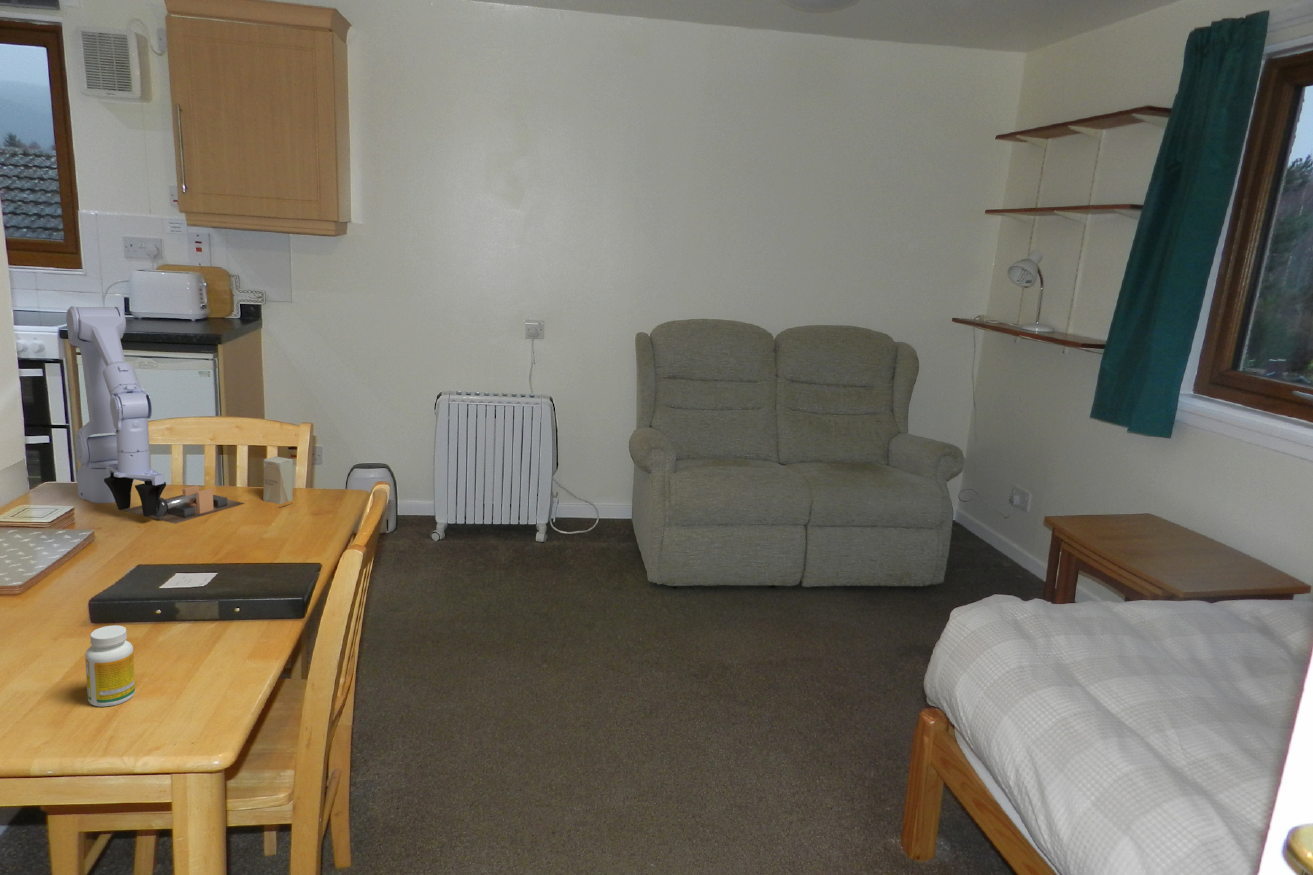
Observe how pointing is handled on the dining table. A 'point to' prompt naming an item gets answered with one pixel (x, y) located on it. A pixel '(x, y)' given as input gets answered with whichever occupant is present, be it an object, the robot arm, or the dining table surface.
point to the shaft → (173, 504)
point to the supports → (189, 511)
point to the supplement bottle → (110, 667)
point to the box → (278, 480)
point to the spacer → (200, 499)
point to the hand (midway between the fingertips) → (136, 512)
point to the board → (179, 519)
